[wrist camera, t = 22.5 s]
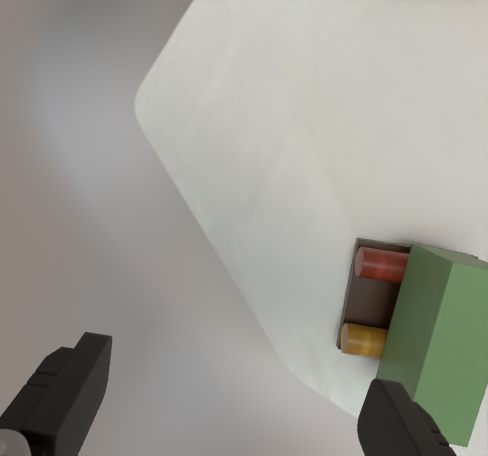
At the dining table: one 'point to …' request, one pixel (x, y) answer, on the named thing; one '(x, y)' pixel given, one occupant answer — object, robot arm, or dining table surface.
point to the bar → (441, 338)
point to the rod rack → (371, 296)
